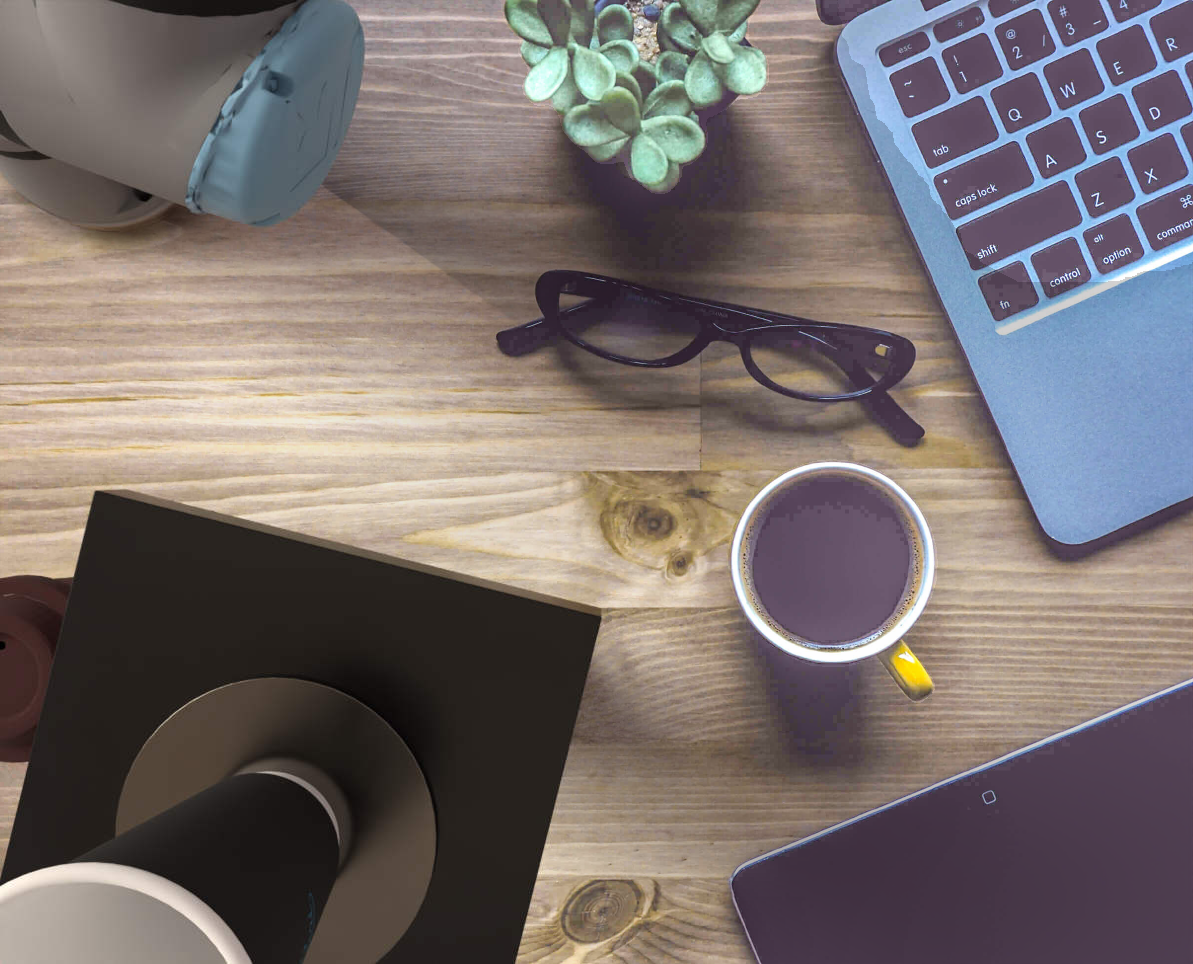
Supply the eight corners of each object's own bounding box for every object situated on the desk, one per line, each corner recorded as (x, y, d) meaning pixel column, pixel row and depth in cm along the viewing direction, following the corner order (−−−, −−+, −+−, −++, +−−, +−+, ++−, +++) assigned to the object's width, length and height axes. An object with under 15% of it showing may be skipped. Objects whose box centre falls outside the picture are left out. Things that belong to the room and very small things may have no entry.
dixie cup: (135, 746, 31) (-127, 900, 20) (364, 706, 30) (230, 838, 19) (176, 974, 31) (-62, 1255, 20) (404, 935, 31) (294, 1194, 20)
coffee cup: (198, 713, 61) (67, 791, 46) (55, 684, 61) (-122, 752, 46) (226, 570, 61) (105, 602, 46) (84, 541, 61) (-85, 563, 46)
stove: (124, 488, 33) (66, 490, 29) (601, 608, 33) (602, 625, 29) (-4, 1015, 33) (-78, 1081, 29) (470, 1134, 33) (454, 1215, 29)
